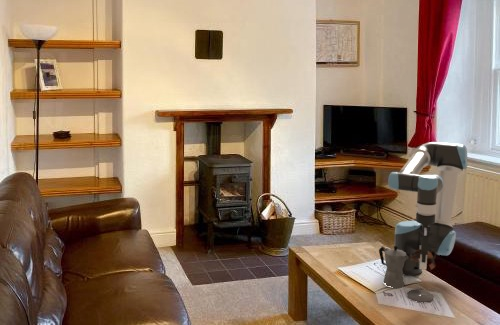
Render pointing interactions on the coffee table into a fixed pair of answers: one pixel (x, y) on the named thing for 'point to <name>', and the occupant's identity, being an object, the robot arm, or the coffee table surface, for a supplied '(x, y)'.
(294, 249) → the coffee table surface
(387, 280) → the coffeepot
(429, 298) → the disc
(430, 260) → the pottery mug
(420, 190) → the robot arm
